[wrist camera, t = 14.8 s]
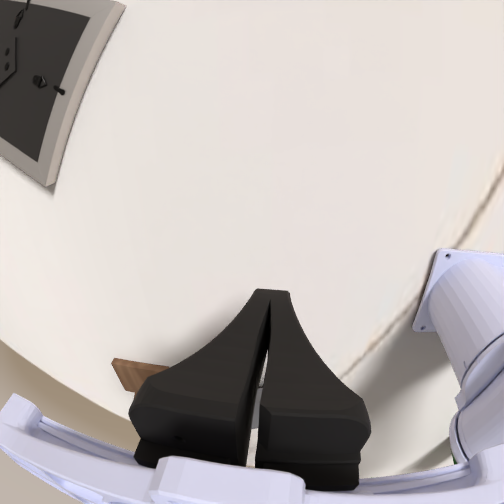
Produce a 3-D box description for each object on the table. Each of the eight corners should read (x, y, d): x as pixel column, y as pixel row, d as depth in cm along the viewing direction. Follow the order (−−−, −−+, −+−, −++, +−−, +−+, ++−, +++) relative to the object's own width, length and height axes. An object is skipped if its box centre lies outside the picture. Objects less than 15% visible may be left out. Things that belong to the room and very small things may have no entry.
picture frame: (-40, 110, 20) (60, 180, 23) (-57, 114, 17) (39, 190, 20) (2, -16, 13) (130, 7, 16) (-16, -18, 10) (111, -1, 13)
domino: (166, 372, 29) (111, 363, 30) (177, 400, 32) (125, 390, 33) (171, 362, 31) (116, 353, 32) (181, 389, 33) (130, 381, 34)
